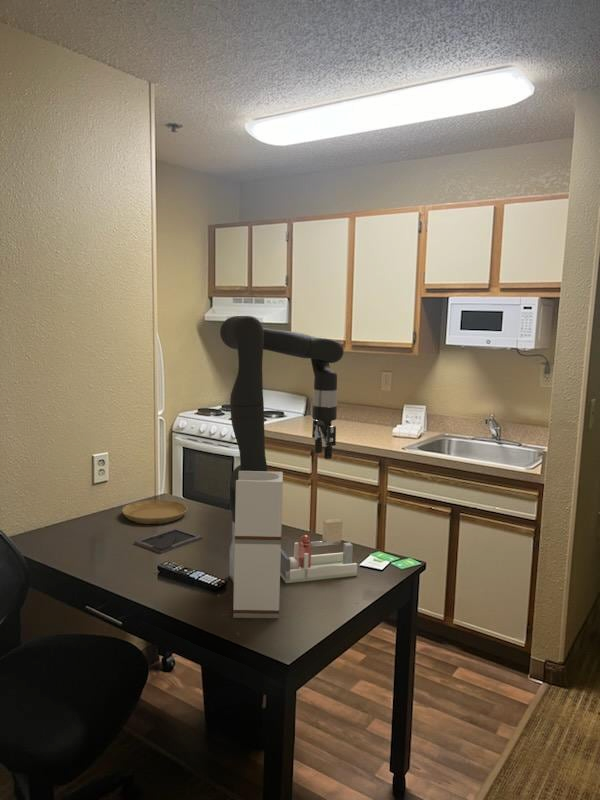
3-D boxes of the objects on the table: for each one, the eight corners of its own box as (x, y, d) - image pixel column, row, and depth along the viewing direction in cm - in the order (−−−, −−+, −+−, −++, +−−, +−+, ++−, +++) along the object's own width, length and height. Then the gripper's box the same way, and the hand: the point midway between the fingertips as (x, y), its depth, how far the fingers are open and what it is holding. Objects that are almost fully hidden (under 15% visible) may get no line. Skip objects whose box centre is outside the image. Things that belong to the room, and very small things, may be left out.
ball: (297, 558, 177) (303, 569, 178) (293, 553, 181) (299, 564, 182) (286, 566, 176) (292, 577, 177) (282, 561, 180) (288, 571, 181)
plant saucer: (169, 503, 248) (169, 496, 247) (199, 519, 229) (199, 510, 229) (111, 513, 232) (111, 505, 232) (139, 531, 214) (139, 522, 214)
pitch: (286, 583, 174) (286, 556, 173) (276, 569, 183) (276, 544, 182) (356, 575, 181) (357, 549, 180) (343, 563, 190) (344, 538, 189)
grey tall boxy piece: (278, 599, 163) (282, 471, 159) (278, 618, 153) (282, 481, 149) (236, 598, 163) (238, 470, 159) (233, 617, 152) (235, 480, 148)
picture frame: (161, 555, 193) (202, 540, 208) (161, 549, 193) (202, 535, 207) (134, 545, 201) (175, 532, 215) (134, 539, 201) (175, 526, 215)
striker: (302, 571, 178) (304, 525, 176) (297, 564, 182) (298, 520, 181) (341, 567, 182) (343, 522, 180) (335, 560, 186) (337, 517, 185)
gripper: (305, 401, 194) (304, 451, 196) (321, 407, 180) (319, 461, 182) (327, 401, 196) (325, 450, 198) (344, 407, 183) (342, 460, 185)
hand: (322, 455), depth 190 cm, fingers open, 8 cm apart
